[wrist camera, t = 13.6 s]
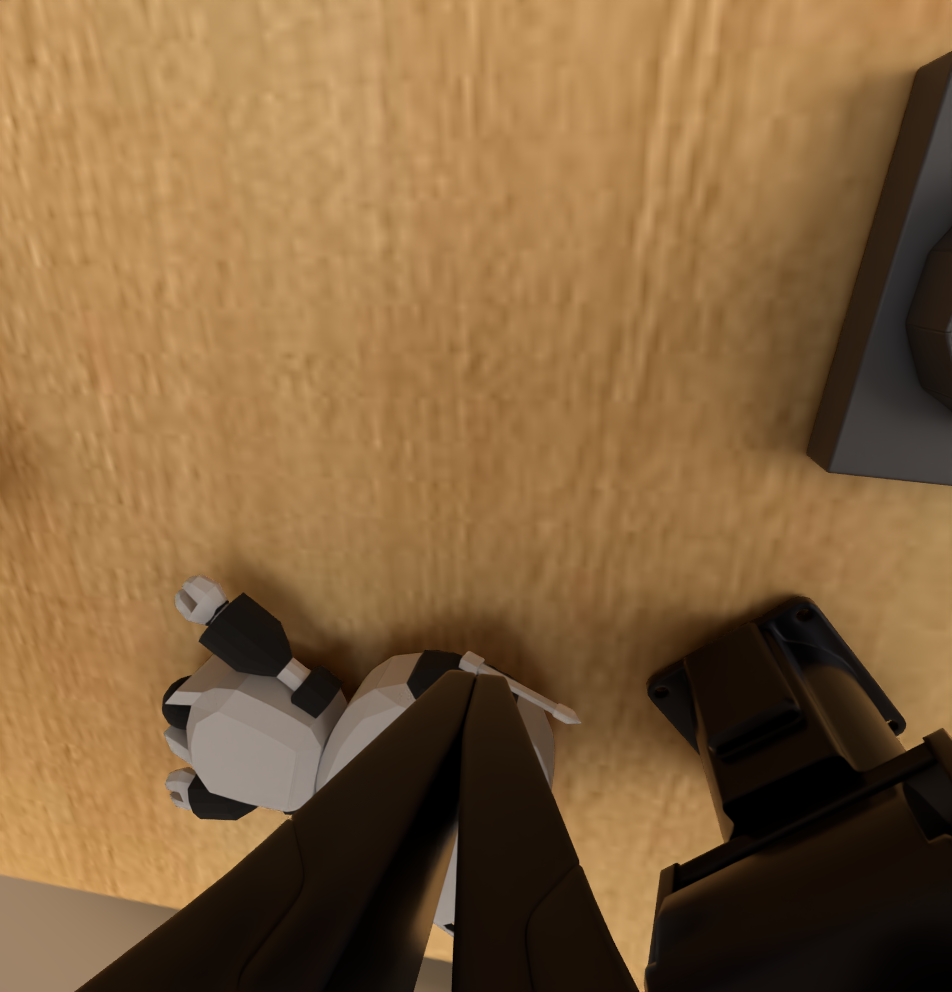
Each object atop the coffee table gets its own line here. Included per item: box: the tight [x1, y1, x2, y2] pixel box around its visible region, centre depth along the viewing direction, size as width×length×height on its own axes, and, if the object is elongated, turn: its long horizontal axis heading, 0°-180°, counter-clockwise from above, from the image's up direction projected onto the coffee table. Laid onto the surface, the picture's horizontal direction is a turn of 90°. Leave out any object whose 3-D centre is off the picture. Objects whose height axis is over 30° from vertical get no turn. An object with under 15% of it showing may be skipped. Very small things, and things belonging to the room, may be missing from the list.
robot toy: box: [162, 575, 582, 937], centre depth 23 cm, size 12×4×15 cm
